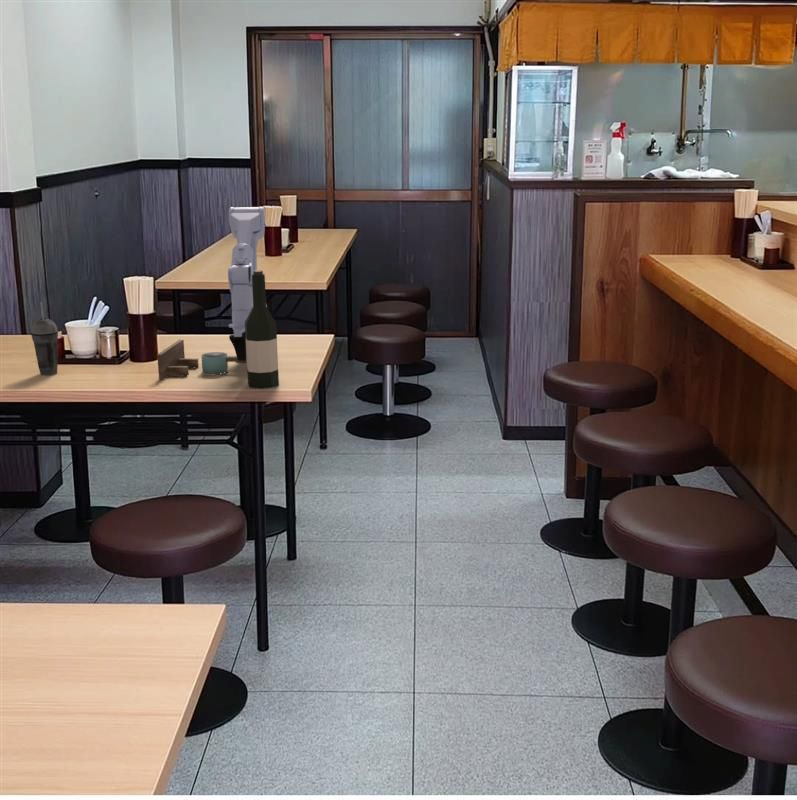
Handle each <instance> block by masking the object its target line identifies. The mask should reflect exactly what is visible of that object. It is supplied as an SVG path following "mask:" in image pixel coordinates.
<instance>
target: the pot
mask: <svg viewBox="0 0 797 800" xmlns="http://www.w3.org/2000/svg"><path fill="white" fill-rule="evenodd" d="M230 362H233V363H237V362H238V363H247V358H246V361H238V359H237V356H236V355H235V356H234V355H231V356H230V355H228V353H227V352H224V351H209V352H205V353H203V354H201V370H202V374H203V373H205V374H204V375H206V374H219V375H221V374H220V373H224V372H227V371H228V372H229V364H228V363H230ZM228 372H227V373H228Z"/></svg>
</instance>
